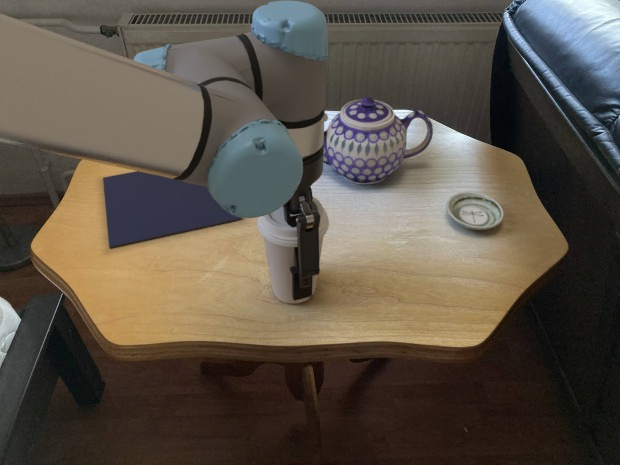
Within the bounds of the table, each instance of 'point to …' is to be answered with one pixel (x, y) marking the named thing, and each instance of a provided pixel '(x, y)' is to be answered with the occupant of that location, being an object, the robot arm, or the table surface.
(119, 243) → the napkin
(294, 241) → the coffee cup
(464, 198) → the saucer
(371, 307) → the table surface
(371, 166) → the teapot
